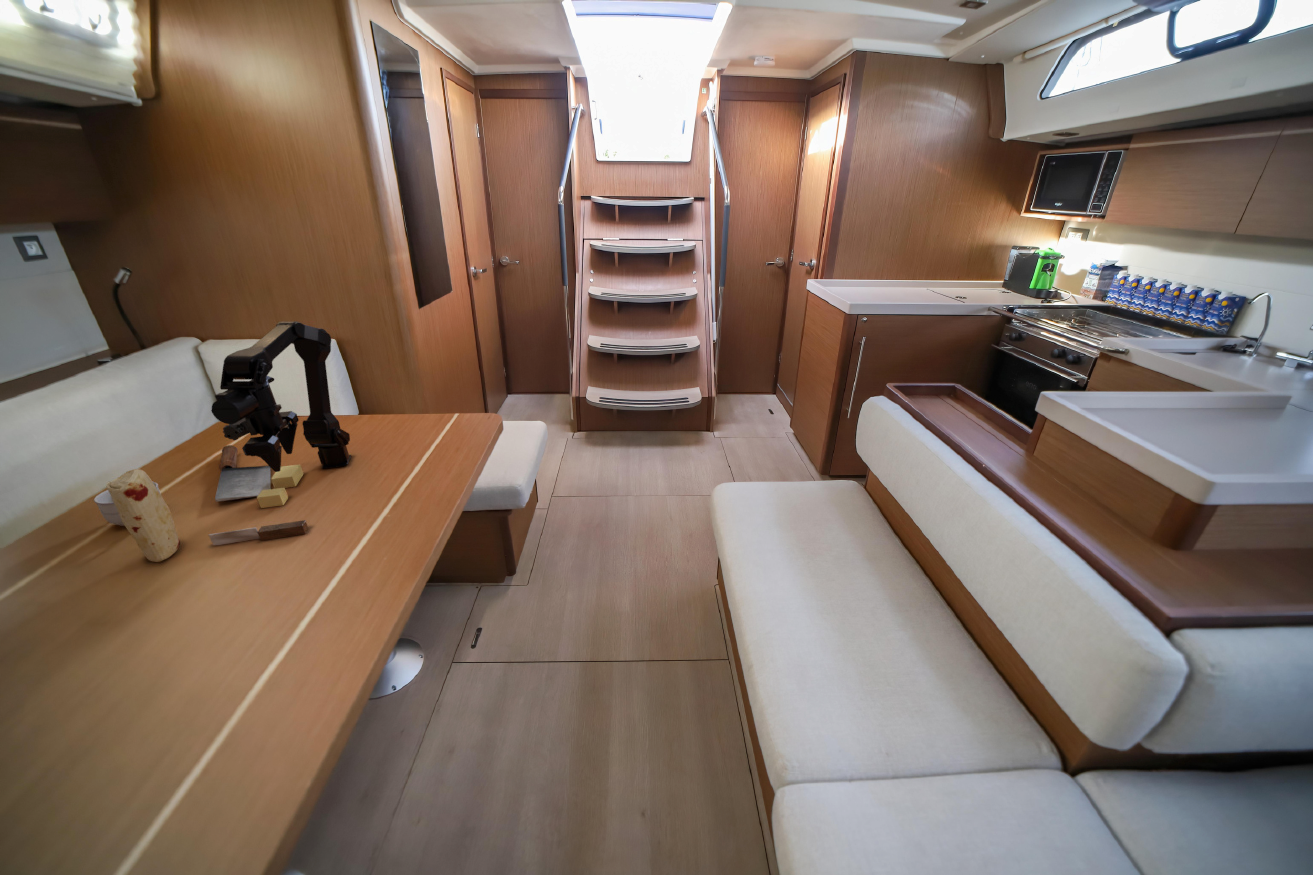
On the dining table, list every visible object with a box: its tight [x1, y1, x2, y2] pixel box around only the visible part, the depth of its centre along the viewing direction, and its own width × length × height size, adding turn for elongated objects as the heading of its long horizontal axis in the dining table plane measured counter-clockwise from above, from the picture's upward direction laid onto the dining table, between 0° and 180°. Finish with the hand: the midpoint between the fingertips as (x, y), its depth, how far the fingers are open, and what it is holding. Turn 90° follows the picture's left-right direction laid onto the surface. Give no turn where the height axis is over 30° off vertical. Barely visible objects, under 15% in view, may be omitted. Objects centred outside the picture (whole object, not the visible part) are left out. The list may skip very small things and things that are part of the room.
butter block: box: [270, 464, 304, 489], centre depth 138 cm, size 5×7×3 cm
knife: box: [208, 519, 309, 546], centre depth 115 cm, size 18×2×3 cm, turn 107°
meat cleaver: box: [214, 444, 272, 502], centre depth 141 cm, size 34×11×4 cm, turn 35°
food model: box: [106, 468, 181, 563], centre depth 106 cm, size 10×7×20 cm
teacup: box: [93, 481, 163, 527], centre depth 119 cm, size 14×11×8 cm
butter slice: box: [256, 488, 289, 509], centre depth 128 cm, size 5×4×3 cm
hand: (283, 462), depth 126 cm, fingers open, 9 cm apart
